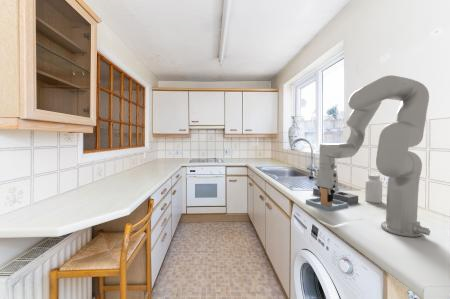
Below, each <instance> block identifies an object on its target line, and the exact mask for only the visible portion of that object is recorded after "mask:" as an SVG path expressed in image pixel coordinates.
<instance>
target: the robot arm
mask: <svg viewBox="0 0 450 299" xmlns="http://www.w3.org/2000/svg"><path fill="white" fill-rule="evenodd" d="M384 100H394V101H399V102H400V105H399V107H398V109H397V111H396V119H395V122H392V123H388V124H386V125H385V126H384V127H383V128H382V130H381V132H380V133H379V134H380V135H379V136H378V137H379V138H378V144H377V150H376V158H375V164H376V165H375V166H376V169H377V171H378V172H379V173H380V174H381V175H383V176H384V177H387V185H386V186H387V187H386V206H385V210H386V211H385V212H386V213H385V221H382V222H381V223H380V227H381V229H383V230H384V231H386V232H388V233H390V234H394V235H398V236H403V237H410V238H418V237H421V236H422V235H425V236H430V235H431V230H430V228H427V227H425V226H424V227H423V226H422V225H421V221H418V209H419V208H418V206H419V204H418V203H419V190H420V188H419V187H420V185H419V184H420V179H421V174H422V169H423V163H422V162H423V161H422V159H421V158H420V156H419V155H418V154H417V153H415V152H414V151H411V150H409V148H413V147H416V146H418V145H419V144H421V142H422V141H423V137H424V132H425V125H426V122H427V121H426V120H427V112H428V107H429V102H430V93H429V90H428V88H427V87H426V85H424V83H421V81H417V80H415V79H412V78H408V77H403V76H399V75H392V74H391V75H385V76H382V77H380V78H378V79H376V80H374V81H372V82H370V83H369V84H366V85H364V86H362V87H360V88H359V89H357V90H355V91H354V92H353V93H352V94H351V95H350V96H349V98H348V102H347V103H348V106H349V108H350V109H351V110H352V111H351V112H350V115H349V116H348V118H347V119H346V125H347V126H348V127H349V128H350V134H349V137H348V138H347V140H346V142H339V143H338V142H337V143H332V142H331V143H330V142H326V143H325V142H322V143H321V144H319V156H318V158H319V160H318V161H319V163H318V164H319V165H318V166H319V167H318V170H317V174H316V183H315V184H314V185H315V186H316V188H318V189H319V192H320V196H319V197H320V199H321V188H322V187H324V188H328V193H329V194H328V202H332V201H333V194H334V193H335V192H337V191H340V189H339V179H338V171H337V169H336V168H337V165H336V159H347V158H352V157H354V156H355V155H356V154H357V153H358V152H359V151H360V149H361V147H362V145H363V143H364V141H365V136H366V128H368V125H369V124H370V122H371V121H372V119H373V117H374V116H375V114H376V113H377V111H378V110H379V108H380V106H381V104H382V102H383V101H384Z"/></svg>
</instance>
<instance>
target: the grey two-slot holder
mask: <svg viewBox="0 0 450 299" xmlns="http://www.w3.org/2000/svg"><path fill="white" fill-rule="evenodd" d="M312 190H313V191H312V193H313V194H312V195H315V196H318V197H320V192H319V189H318V187H313V189H312ZM333 199H335V200H339V201H342V202H346V203H348V205H351V204H352V205H353V204H357V203H359V195H357V194H353V193H348V192H345V191H341V190H339V191H337V192H335V193H334V194H333Z"/></svg>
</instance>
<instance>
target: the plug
mask: <svg viewBox="0 0 450 299" xmlns="http://www.w3.org/2000/svg"><path fill="white" fill-rule="evenodd" d="M328 194H329V193H328V188H324V187H322V188H321V204H322V205H325V206H331V205H332V202H328Z"/></svg>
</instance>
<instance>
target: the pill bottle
mask: <svg viewBox="0 0 450 299" xmlns="http://www.w3.org/2000/svg"><path fill="white" fill-rule="evenodd" d="M380 177H381V176H380V175H378V174H368V179H366V180H365V187H364V188H365V191H364V192H365V193H364V195H365V202H368V203H371V204H381V203H382V202H383V182H382V181H381V180H380Z"/></svg>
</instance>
